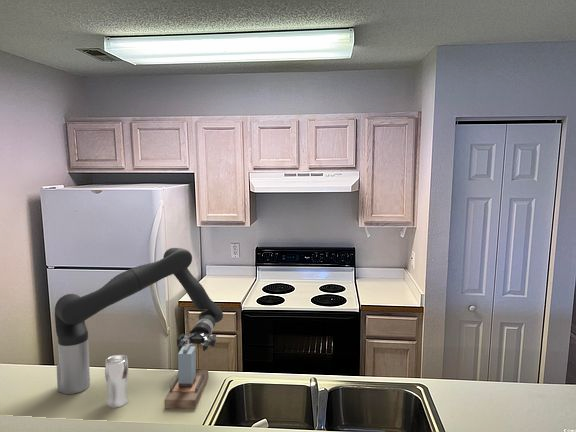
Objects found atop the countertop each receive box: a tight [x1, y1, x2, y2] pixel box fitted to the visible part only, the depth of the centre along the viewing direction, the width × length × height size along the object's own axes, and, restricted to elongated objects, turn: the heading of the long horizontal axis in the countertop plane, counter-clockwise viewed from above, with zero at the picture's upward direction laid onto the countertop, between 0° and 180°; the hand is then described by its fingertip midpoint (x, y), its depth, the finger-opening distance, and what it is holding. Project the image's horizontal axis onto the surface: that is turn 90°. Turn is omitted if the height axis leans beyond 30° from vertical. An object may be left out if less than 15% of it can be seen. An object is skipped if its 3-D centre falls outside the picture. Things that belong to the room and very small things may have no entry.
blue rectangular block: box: [177, 344, 197, 387], centre depth 134 cm, size 4×6×13 cm
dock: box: [164, 369, 209, 410], centre depth 135 cm, size 10×20×4 cm, turn 0°
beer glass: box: [104, 354, 129, 409], centre depth 128 cm, size 7×7×15 cm
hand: (192, 348), depth 140 cm, fingers open, 8 cm apart
